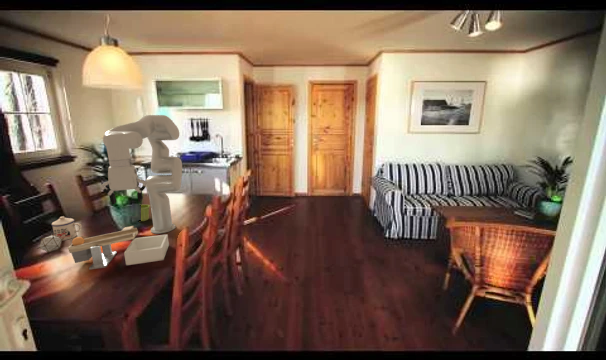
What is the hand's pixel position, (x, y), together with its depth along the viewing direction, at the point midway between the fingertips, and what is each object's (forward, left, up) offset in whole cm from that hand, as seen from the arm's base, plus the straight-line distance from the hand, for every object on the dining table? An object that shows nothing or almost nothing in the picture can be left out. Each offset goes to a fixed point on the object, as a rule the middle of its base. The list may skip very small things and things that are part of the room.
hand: (127, 202), depth 114 cm
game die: (-20, -40, -27) cm, 52 cm away
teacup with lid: (-36, -40, -27) cm, 60 cm away
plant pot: (-52, -9, -27) cm, 59 cm away
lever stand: (-2, -13, -27) cm, 30 cm away
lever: (-6, -11, -23) cm, 26 cm away
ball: (-2, -21, -16) cm, 27 cm away
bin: (-2, +5, -27) cm, 27 cm away
